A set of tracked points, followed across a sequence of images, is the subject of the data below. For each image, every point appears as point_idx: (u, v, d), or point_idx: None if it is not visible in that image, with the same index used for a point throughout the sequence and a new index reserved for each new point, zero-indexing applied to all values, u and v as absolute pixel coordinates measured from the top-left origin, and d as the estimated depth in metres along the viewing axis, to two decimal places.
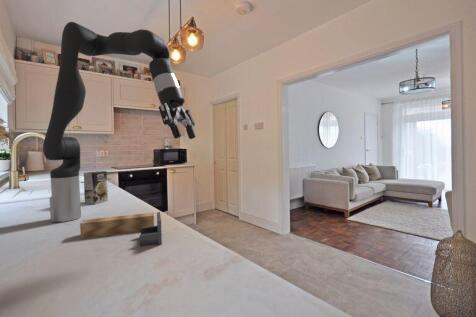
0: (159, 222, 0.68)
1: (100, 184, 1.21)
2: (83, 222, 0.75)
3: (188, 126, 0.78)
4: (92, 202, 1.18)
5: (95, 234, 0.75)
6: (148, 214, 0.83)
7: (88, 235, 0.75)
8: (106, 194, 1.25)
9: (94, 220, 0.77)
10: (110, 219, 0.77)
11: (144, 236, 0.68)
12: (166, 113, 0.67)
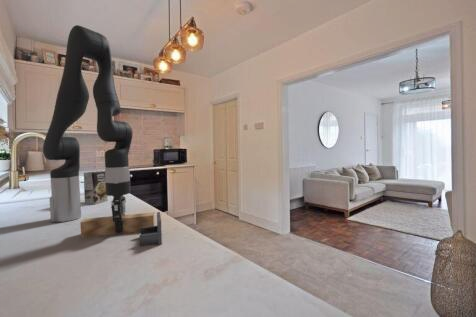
0: (159, 222, 0.68)
1: (100, 184, 1.21)
2: (83, 221, 0.75)
3: None
4: (92, 202, 1.18)
5: (95, 233, 0.76)
6: (148, 214, 0.82)
7: (88, 234, 0.75)
8: None
9: (95, 219, 0.77)
10: (110, 218, 0.78)
11: (144, 236, 0.68)
12: (119, 214, 0.74)
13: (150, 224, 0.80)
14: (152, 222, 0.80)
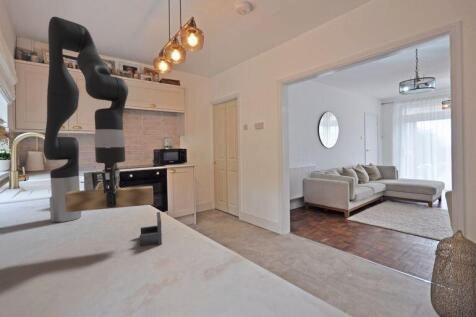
0: (159, 222, 0.68)
1: (100, 184, 1.21)
2: (69, 193, 0.63)
3: None
4: None
5: (83, 207, 0.64)
6: (146, 187, 0.71)
7: (75, 208, 0.63)
8: None
9: (82, 191, 0.65)
10: (101, 190, 0.66)
11: (144, 236, 0.68)
12: (111, 184, 0.62)
13: (149, 198, 0.69)
14: (151, 196, 0.69)
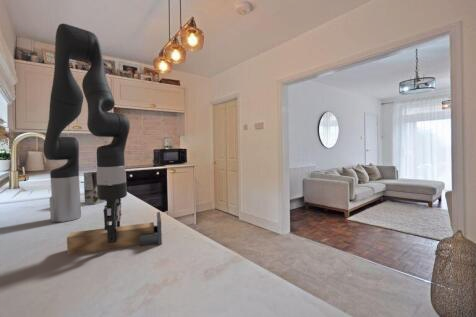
0: (159, 222, 0.68)
1: None
2: (71, 235, 0.63)
3: None
4: (92, 202, 1.18)
5: (85, 249, 0.64)
6: (147, 224, 0.71)
7: (77, 251, 0.63)
8: None
9: (84, 233, 0.65)
10: (103, 231, 0.66)
11: (144, 236, 0.68)
12: (112, 220, 0.62)
13: None
14: None
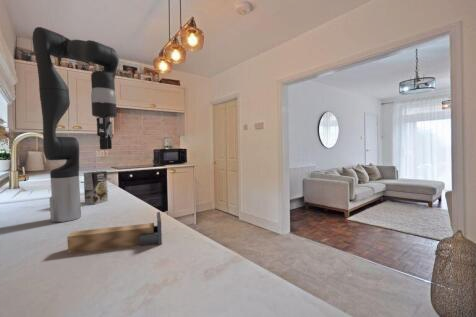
0: (159, 222, 0.68)
1: (100, 184, 1.21)
2: (71, 235, 0.64)
3: (108, 137, 0.86)
4: (92, 202, 1.18)
5: (85, 249, 0.64)
6: (147, 225, 0.71)
7: (77, 250, 0.64)
8: (106, 194, 1.25)
9: (85, 232, 0.66)
10: (103, 231, 0.66)
11: (144, 236, 0.68)
12: (103, 127, 0.76)
13: None
14: None
